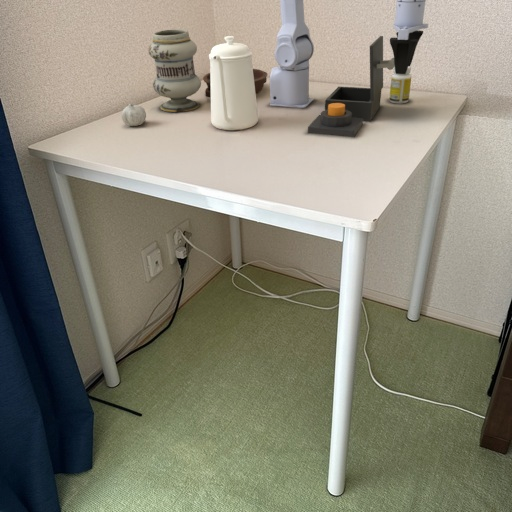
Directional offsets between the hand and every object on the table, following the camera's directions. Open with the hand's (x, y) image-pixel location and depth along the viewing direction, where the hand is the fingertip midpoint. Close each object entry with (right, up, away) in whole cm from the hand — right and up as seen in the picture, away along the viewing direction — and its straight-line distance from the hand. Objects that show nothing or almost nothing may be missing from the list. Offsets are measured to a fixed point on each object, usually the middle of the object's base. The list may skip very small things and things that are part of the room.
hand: (403, 69), depth 108 cm
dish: (-38, +4, +29) cm, 48 cm away
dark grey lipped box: (-9, -7, +9) cm, 15 cm away
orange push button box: (-15, -13, -1) cm, 20 cm away
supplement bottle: (+4, -2, +15) cm, 16 cm away
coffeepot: (-38, -11, +5) cm, 39 cm away
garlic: (-61, -10, +8) cm, 62 cm away
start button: (-15, -11, -2) cm, 19 cm away
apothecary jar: (-52, -3, +19) cm, 56 cm away
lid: (-6, +1, +2) cm, 6 cm away
